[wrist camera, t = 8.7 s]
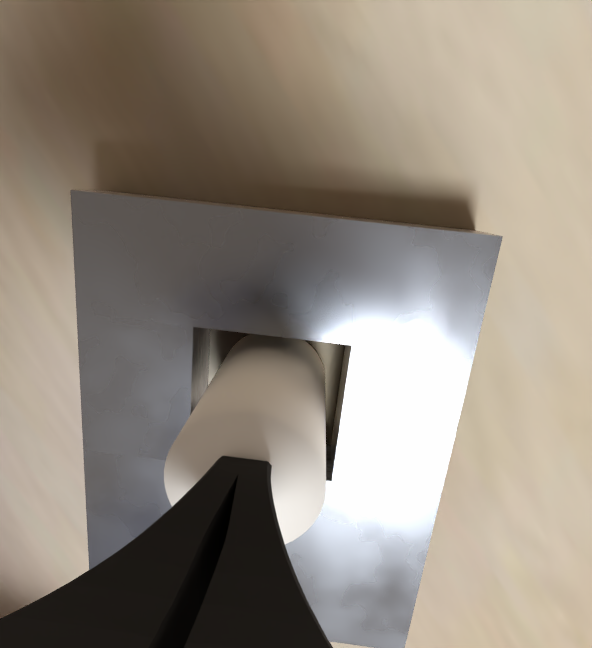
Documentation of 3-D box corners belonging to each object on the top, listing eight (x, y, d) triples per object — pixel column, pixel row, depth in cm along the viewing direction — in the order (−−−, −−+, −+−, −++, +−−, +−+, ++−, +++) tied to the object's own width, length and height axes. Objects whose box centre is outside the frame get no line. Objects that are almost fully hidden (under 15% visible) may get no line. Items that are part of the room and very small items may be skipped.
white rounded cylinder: (315, 432, 19) (311, 563, 12) (217, 415, 19) (158, 535, 12) (334, 339, 18) (340, 427, 11) (228, 321, 18) (169, 397, 11)
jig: (394, 599, 21) (403, 651, 19) (117, 562, 22) (91, 608, 19) (475, 230, 16) (502, 236, 14) (107, 191, 16) (70, 189, 14)
